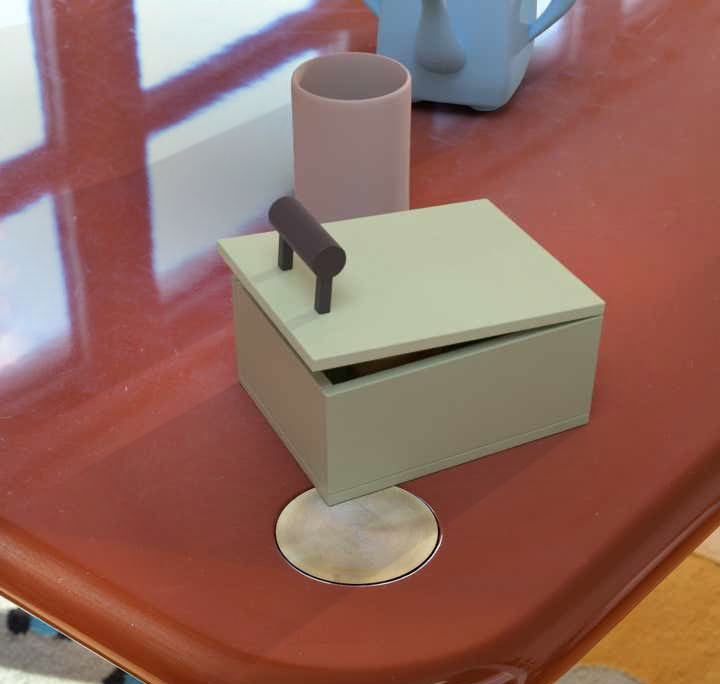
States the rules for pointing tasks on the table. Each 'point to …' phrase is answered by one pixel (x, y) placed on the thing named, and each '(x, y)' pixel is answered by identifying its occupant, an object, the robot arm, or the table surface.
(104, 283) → the table surface
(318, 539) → the table surface
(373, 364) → the block
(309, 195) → the mug
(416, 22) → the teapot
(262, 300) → the green box lid
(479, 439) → the green hinged box
